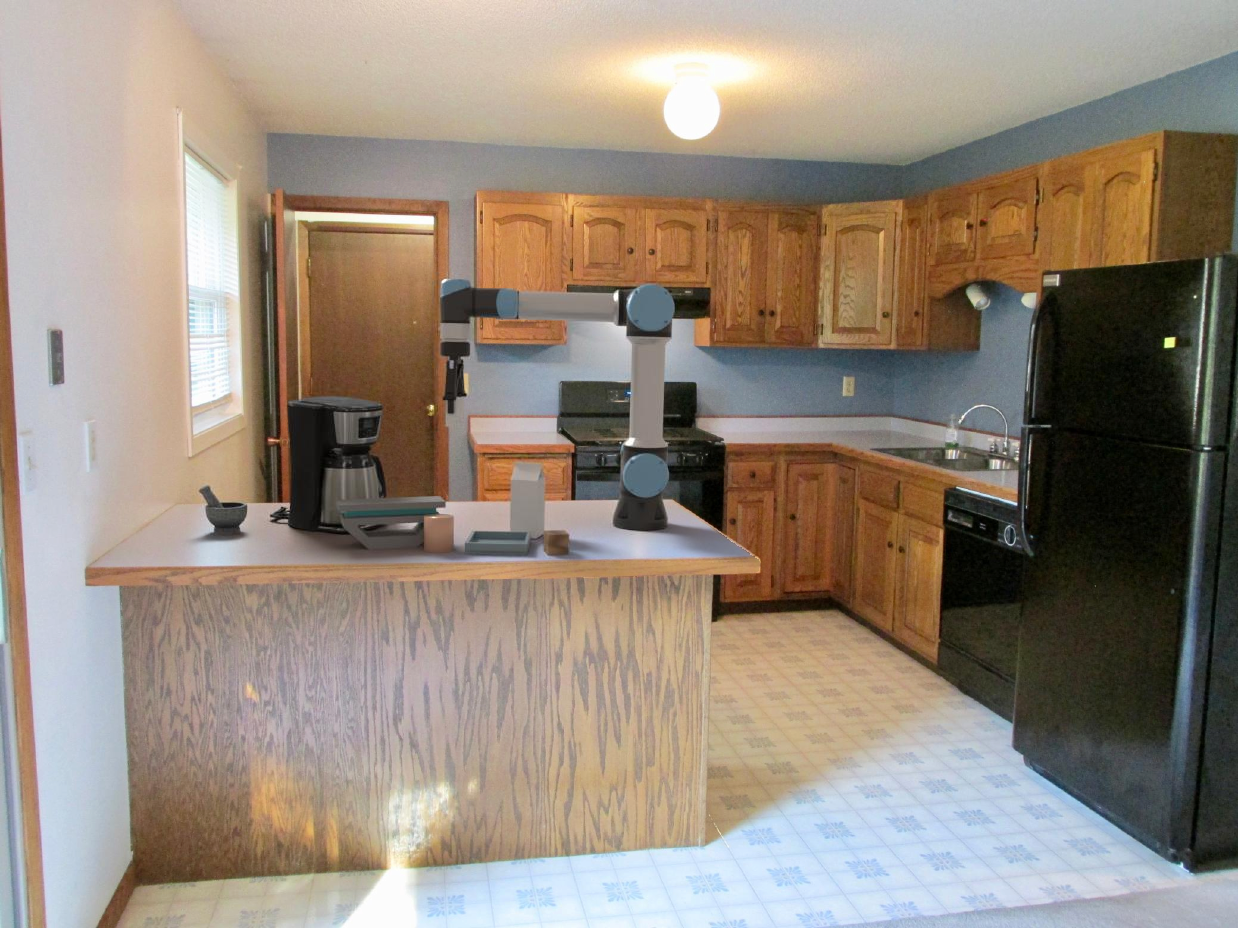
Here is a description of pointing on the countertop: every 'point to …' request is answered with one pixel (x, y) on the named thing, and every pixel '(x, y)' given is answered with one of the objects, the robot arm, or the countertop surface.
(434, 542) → the peach round cylinder
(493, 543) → the tray
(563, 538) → the walnut block
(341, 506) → the sharpening stone
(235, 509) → the mortar and pestle
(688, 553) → the countertop surface
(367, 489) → the coffee maker
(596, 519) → the countertop surface
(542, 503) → the milk carton
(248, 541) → the countertop surface
